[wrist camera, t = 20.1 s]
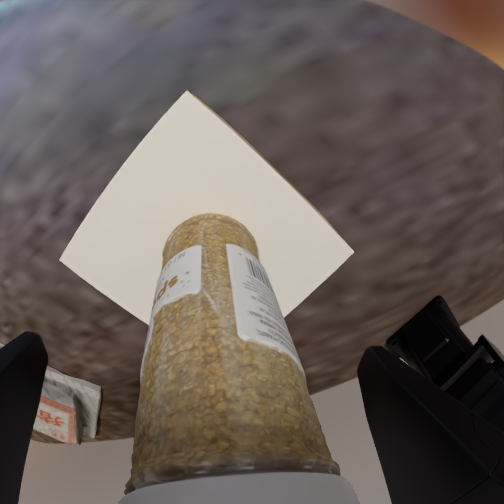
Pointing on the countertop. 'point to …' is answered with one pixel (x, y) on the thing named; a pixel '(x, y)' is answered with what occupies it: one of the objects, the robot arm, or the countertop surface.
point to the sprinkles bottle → (224, 384)
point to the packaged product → (67, 407)
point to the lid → (199, 212)
